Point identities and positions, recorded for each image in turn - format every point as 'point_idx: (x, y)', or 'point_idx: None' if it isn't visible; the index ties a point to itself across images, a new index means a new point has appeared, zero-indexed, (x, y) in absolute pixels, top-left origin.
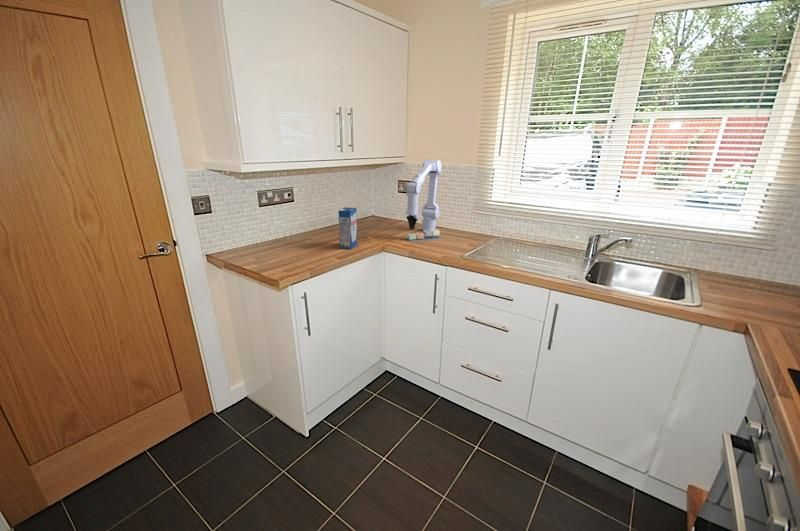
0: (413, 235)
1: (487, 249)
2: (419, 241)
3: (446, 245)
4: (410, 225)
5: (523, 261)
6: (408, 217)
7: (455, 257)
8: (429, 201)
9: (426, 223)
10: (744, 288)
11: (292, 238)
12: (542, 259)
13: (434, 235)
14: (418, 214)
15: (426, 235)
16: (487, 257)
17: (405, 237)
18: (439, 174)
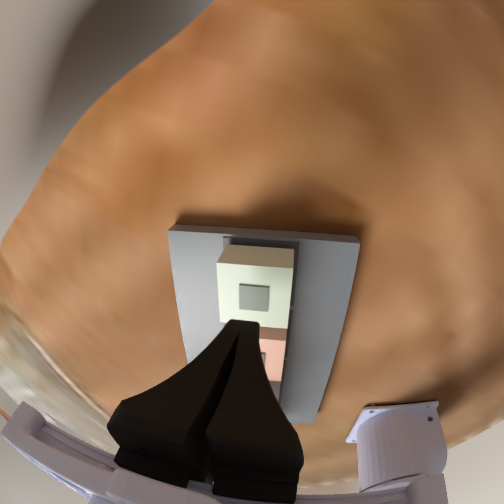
0: (218, 296)
1: (94, 417)
2: (179, 294)
3: (132, 374)
4: (207, 346)
5: (28, 391)
6: (153, 429)
7: (8, 297)
8: None
9: (390, 457)
10: None
11: None
12: (48, 418)
13: (290, 419)
14: (66, 485)
15: None
16: (29, 366)
17: (336, 253)
18: None
